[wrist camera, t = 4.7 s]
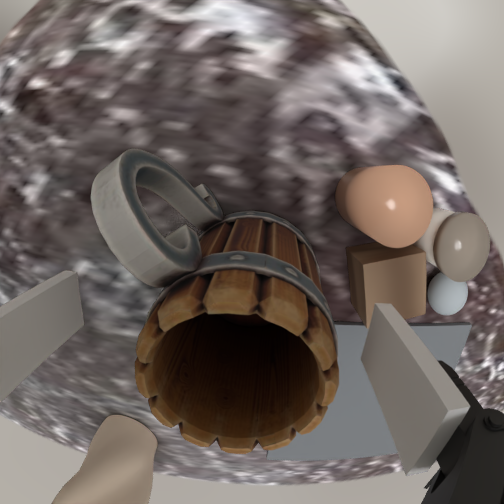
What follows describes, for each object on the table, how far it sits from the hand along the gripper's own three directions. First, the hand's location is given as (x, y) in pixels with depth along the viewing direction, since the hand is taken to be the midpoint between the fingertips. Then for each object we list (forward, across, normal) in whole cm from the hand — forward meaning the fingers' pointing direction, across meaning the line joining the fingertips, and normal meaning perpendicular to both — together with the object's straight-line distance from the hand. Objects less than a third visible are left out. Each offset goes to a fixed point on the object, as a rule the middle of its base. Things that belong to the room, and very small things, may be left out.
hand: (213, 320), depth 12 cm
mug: (+13, -1, 0) cm, 13 cm away
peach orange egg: (+13, +9, +5) cm, 17 cm away
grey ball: (+11, +18, -2) cm, 22 cm away
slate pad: (+13, +14, -16) cm, 25 cm away
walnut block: (+13, +11, -1) cm, 17 cm away
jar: (+13, +15, +3) cm, 21 cm away
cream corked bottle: (+13, -13, -26) cm, 32 cm away
